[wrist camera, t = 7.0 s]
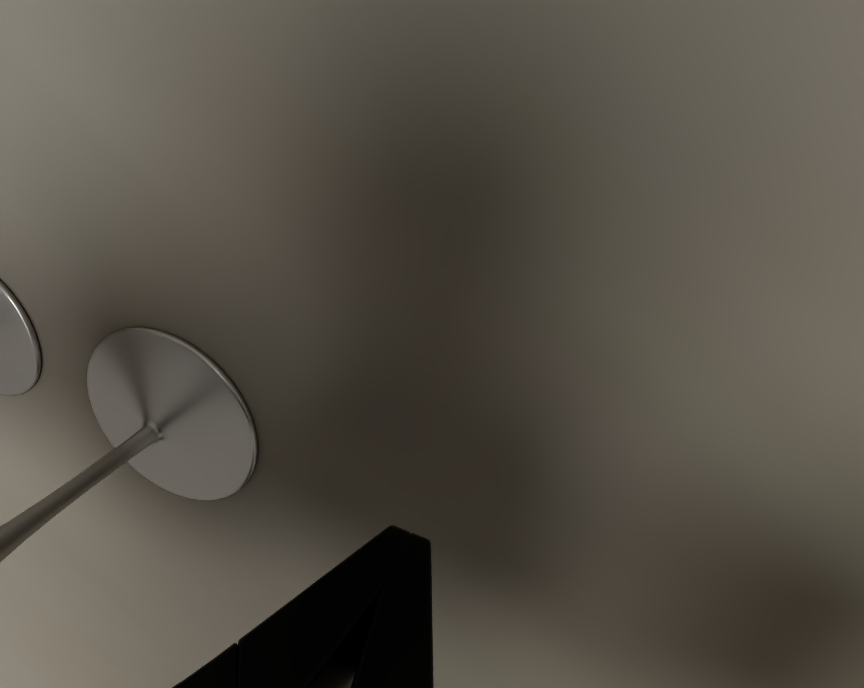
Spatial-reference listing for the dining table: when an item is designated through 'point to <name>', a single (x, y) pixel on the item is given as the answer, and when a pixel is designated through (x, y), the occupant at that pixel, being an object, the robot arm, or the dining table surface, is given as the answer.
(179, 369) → the goblet set
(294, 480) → the dining table surface
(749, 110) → the dining table surface
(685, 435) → the dining table surface
